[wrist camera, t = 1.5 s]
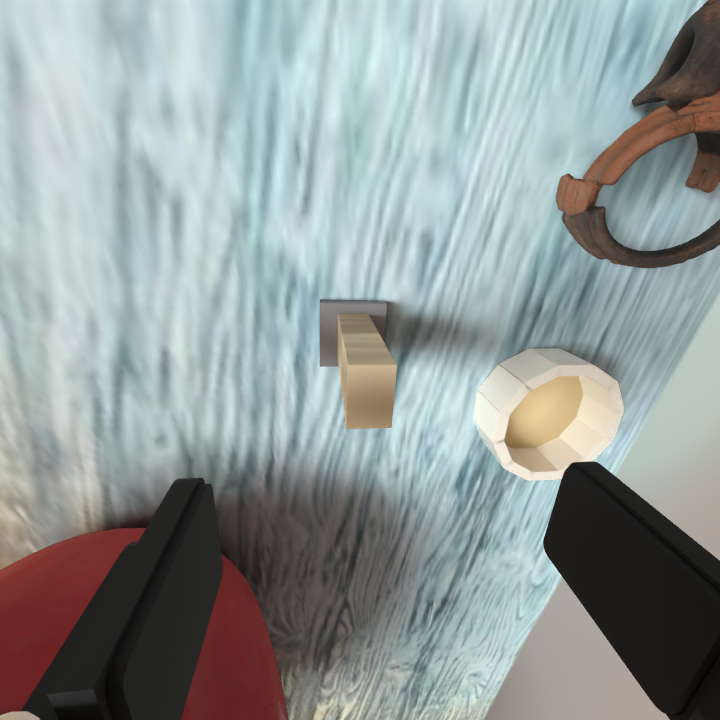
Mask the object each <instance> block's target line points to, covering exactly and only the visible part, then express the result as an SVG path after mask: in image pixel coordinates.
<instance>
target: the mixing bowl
mask: <svg viewBox="0 0 720 720" xmlns="http://www.w3.org/2000/svg"><path fill="white" fill-rule="evenodd" d="M145 529H146V528H118V529H111V530H105V531H98V532H93V533H88V534H84V535H80V536H77V537H74V538H71V539H68V540H65V541H62V542H59V543H56V544H53V545H51V546H48V547H46V548H44V549H42V550H39V551H37V552H35V553H33V554H31V555H29V556H27V557H25V558H23V559H21V560H19V561H17V562H15V563H13V564H11V565H9V566H7V567H5V568H3V569H1V570H0V715H3V714H6V713H9V712H20V711H21V710H22V708H23V706H24V705H25V703H26V702H27V700H28V699H29V697H30V695H31V694H32V692H33V691H34V689H35V688H36V686H37V684H38V683H39V681H40V680H41V678H42V676H43V675H44V673H45V672H46V670H47V669H48V667H49V665H50V664H51V662H52V661H53V659H54V657H55V656H56V654H57V653H58V651H59V650H60V648H61V646H62V645H63V643H64V642H65V640H66V638H67V637H68V635H69V634H70V632H71V631H72V629H73V627H74V626H75V624H76V623H77V621H78V620H79V618H80V616H81V615H82V613H83V612H84V610H85V608H86V607H87V605H88V604H89V602H90V601H91V599H92V597H93V596H94V594H95V593H96V591H97V589H98V588H99V586H100V585H101V583H102V582H103V580H104V578H105V577H106V575H107V574H108V572H109V570H110V569H111V567H112V566H113V564H114V563H115V561H116V559H117V558H118V556H119V555H120V553H121V552H122V551H123V549H124V548H125V547H126V546H127V545H128V544H129V543H131V542H138V541H139V539H140V538H141V536H142V534H143V533H144V531H145ZM222 561H223V573H222V579H221V583H220V586H219V590H218V593H217V597H216V600H215V604H214V607H213V611H212V614H211V618H210V621H209V625H208V628H207V632H206V635H205V639H204V642H203V645H202V649H201V652H200V656H199V659H198V663H197V666H196V670H195V673H194V677H193V680H192V684H191V687H190V691H189V694H188V698H187V701H186V705H185V708H184V711H183V715H182V718H181V720H288V716H287V710H286V705H285V699H284V694H283V688H282V683H281V679H280V674H279V670H278V665H277V661H276V657H275V653H274V650H273V646H272V643H271V639H270V636H269V633H268V629H267V626H266V623H265V620H264V618H263V615H262V612H261V609H260V607H259V604H258V602H257V599H256V597H255V595H254V593H253V591H252V589H251V587H250V585H249V583H248V581H247V580H246V579H245V577H244V576H243V574H242V573H241V572H240V571H239V570H238V569H237V568H236V566H235V565H234V564H233V563H232V562H231V561H230V560H229V559H227V558H226V557H225V556H224V555H222Z"/></svg>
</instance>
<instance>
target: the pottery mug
mask: <svg viewBox="0 0 720 720" xmlns="http://www.w3.org/2000/svg"><path fill="white" fill-rule="evenodd" d="M663 100H668V101H671V102H670V103H668V104H666V105H663V106H661V107H659V108H657V109H656V110H654V111H653V112H652V113H650V114H649V115H647V116H646V117H645V118H643V119H642V120H641V121H639V122H638V123H637V124H635V125H633V126H632V127H631V128H629V129H628V130H626V131H625V132H624V133H623V134H622V135H621V136H620V137H619V138H618V139H617V140H616V141H615V142H614V143H613V144H612V145H611V146H610V147H608V148H607V149H606V150H605V151H604V152H603V153H602V154H601V155H600V156H599V157H598V158H597V159H596V160H595V161H594V163H593V164H592V165H591V167H590V168H589V169H588V171H587V172H586V174H585V175H584V177H583V179H574V178H573V177H572V176H571V175H570V174H566V175H564V176H562V177H561V179H560V182H559V185H558V190H557V195H556V202H557V204H558V209H559V210H562V211H564V214H563V216H562V220H563V223H564V224H565V226H566V227H567V229H568V231H569V232H570V233H571V235H572V236H573V237H574V239H575V240H576V241H577V242H578V244H579V245H581V247H583V248H584V249H585V250H586V251H587V252H589V253H590V254H592V255H593V256H595V257H597V258H599V259H609V260H610V261H611V262H612V263H614V264H621V265H627V266H633V267H641V268H656V267H666V266H671V265H674V264H679V263H683V262H685V261H687V260H688V259H693V258H695V257H697V256H699V255H702V254H704V253H705V252H707V251H710V250H712V249H714V248H716V247H717V246H718V245H720V220H718V221H717V222H716V223H715V224H714V225H713V226H711V227H710V228H709V229H708V230H706V231H705V232H703V233H702V234H701V235H699V236H697V237H696V238H694V239H692V240H690V241H688V242H686V243H683V244H681V245H678V246H675V247H672V248H668V249H663V250H657V251H638V250H633V249H629V248H627V247H624V246H623V245H621V244H620V243H618V242H617V241H616V240H615V239H614V238H613V237H612V236H611V234H610V233H609V230H608V228H607V225H606V219H605V207H597V206H595V203H596V200H597V197H598V193H599V191H600V189H601V188H602V186H603V185H614V184H615V183H616V182H617V181H618V180H619V178H620V177H621V176H622V175H623V174H624V173H625V172H626V170H627V169H628V168H629V167H630V166H631V165H632V164H633V163H634V162H635V161H636V160H637V159H639V158H640V157H641V156H643V155H644V154H646V153H647V152H648V151H650V150H652V149H653V148H655V147H657V146H658V145H660V144H662V143H664V142H667V141H669V140H671V139H674V138H677V137H680V136H683V135H686V134H689V133H695V135H696V138H697V142H698V151H697V156H696V160H695V163H694V166H693V169H692V172H691V174H690V176H689V178H688V180H687V182H686V186H688V187H693V188H698V189H701V190H702V191H704V192H707V193H709V192H712V191H713V190H714V189H715V188H716V186H717V185H718V183H719V181H720V0H708V1H707V2H706V3H705V4H704V5H703V6H702V7H701V8H700V9H699V10H698V11H697V12H695V13H694V14H693V15H692V16H691V17H690V18H689V19H688V21H687V22H686V23H685V25H684V26H683V27H682V29H681V30H680V32H679V34H678V35H677V37H676V38H675V40H674V42H673V44H672V46H671V48H670V49H669V51H668V53H667V55H666V57H665V59H664V61H663V63H662V65H661V67H660V69H659V71H658V73H657V74H656V76H655V77H654V78H653V79H652V81H651V82H650V83H649V84H648V85H647V86H646V87H645V88H644V89H643V90H642V91H641V92H639V93H638V94H637V95H636V96H635V98H634V99H633V100H632V104H633V105H634V106H638V105H641V104H645V103H653V102H659V101H663Z"/></svg>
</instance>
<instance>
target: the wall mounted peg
mask: <svg viewBox="0 0 720 720" xmlns="http://www.w3.org/2000/svg"><path fill="white" fill-rule="evenodd" d="M386 312H387V304H386V303H385V302H384V301H366V300H320V366H339V373H340V381H341V389H342V397H343V405H344V413H345V421H346V429H362V428H391V427H392V415H393V404H394V392H395V380H396V369H397V364H396V363H395V361H394V359H393V357H392V355H391V354H390V352H389V350H388V348H387V347H386V345H385V343H384V341H385V327H386Z"/></svg>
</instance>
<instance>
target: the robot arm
mask: <svg viewBox="0 0 720 720" xmlns="http://www.w3.org/2000/svg"><path fill="white" fill-rule="evenodd" d="M543 544H544V549H545V552H546V554H547V556H548V557H549V559H550V560H551V561H552V563H553V564H554V566H555V567H556V568H557V570H558V571H559V573H560V574H561V575H562V577H563V578H564V579H565V581H566V582H567V584H568V585H569V587H570V588H571V589H572V591H573V592H574V594H575V595H576V596H577V598H578V599H579V600H580V602H581V603H582V605H583V606H584V608H585V609H586V610H587V612H588V613H589V614H590V616H591V617H592V619H593V620H594V621H595V623H596V624H597V626H598V627H599V628H600V630H601V631H602V632H603V634H604V635H605V637H606V638H607V640H608V641H609V642H610V644H611V645H612V647H613V648H614V649H615V651H616V652H617V653H618V655H619V656H620V658H621V659H622V661H623V662H624V663H625V665H626V666H627V668H628V669H629V670H630V672H631V673H632V675H633V676H634V677H635V679H636V680H637V681H638V683H639V684H640V686H641V687H642V688H643V690H644V691H645V693H646V694H647V696H648V697H649V698H650V700H651V701H652V702H653V703H654V705H655V706H656V707H657V708H658V709H659V710H660V711H662V712H663V713H666V715H667V716H668V718H669V719H670V720H720V561H719V560H718V559H717V558H715V557H714V556H713V555H712V554H711V553H709V552H708V551H707V550H706V549H704V548H703V547H702V546H701V545H699V544H698V543H697V542H696V541H694V540H693V539H692V538H691V537H689V536H688V535H687V534H686V533H685V532H683V531H682V530H681V529H680V528H678V527H677V526H676V525H674V524H673V523H672V522H671V521H670V520H668V519H667V518H666V517H665V516H663V515H662V514H661V513H660V512H659V511H657V510H656V509H655V508H654V507H652V506H651V505H650V504H649V503H648V502H646V501H645V500H644V499H643V498H641V497H640V496H639V495H637V494H636V493H635V492H634V491H633V490H631V489H630V488H629V487H628V486H626V485H625V484H624V483H623V482H621V481H620V480H619V479H618V478H617V477H615V476H614V475H613V474H612V473H610V472H609V471H608V470H607V469H605V468H604V467H603V466H602V465H600V464H599V463H597V462H594V461H589V462H573V463H571V464H570V465H569V467H568V468H567V469H566V470H565V471H564V474H563V477H562V480H561V484H560V487H559V490H558V494H557V497H556V500H555V504H554V507H553V510H552V514H551V517H550V520H549V524H548V527H547V530H546V534H545V537H544V541H543ZM222 573H223V561H222V553H221V546H220V539H219V532H218V525H217V517H216V510H215V503H214V496H213V489H212V485H211V484H205V482H204V480H203V478H187V479H177V480H175V481H174V483H173V484H172V486H171V487H170V489H169V491H168V492H167V494H166V496H165V498H164V499H163V501H162V503H161V504H160V506H159V508H158V509H157V511H156V513H155V514H154V516H153V518H152V519H151V521H150V523H149V524H148V526H147V528H146V529H145V531H144V533H143V534H142V536H141V538H140V539H139V541H138V542H131V543H129V544H128V545H127V546H126V547H125V548H124V549H123V551H122V552H121V553H120V555H119V556H118V558H117V559H116V561H115V563H114V564H113V566H112V567H111V569H110V570H109V572H108V574H107V575H106V577H105V578H104V580H103V582H102V583H101V585H100V586H99V588H98V589H97V591H96V593H95V594H94V596H93V597H92V599H91V601H90V602H89V604H88V605H87V607H86V608H85V610H84V612H83V613H82V615H81V616H80V618H79V620H78V621H77V623H76V624H75V626H74V627H73V629H72V631H71V632H70V634H69V635H68V637H67V638H66V640H65V642H64V643H63V645H62V646H61V648H60V650H59V651H58V653H57V654H56V656H55V657H54V659H53V661H52V662H51V664H50V665H49V667H48V669H47V670H46V672H45V673H44V675H43V676H42V678H41V680H40V681H39V683H38V684H37V686H36V688H35V689H34V691H33V692H32V694H31V695H30V697H29V699H28V700H27V702H26V703H25V705H24V706H23V708H22V710H21V711H20V712H9V713H6V714H3V715H0V720H181V718H182V715H183V711H184V708H185V705H186V701H187V698H188V694H189V691H190V687H191V684H192V680H193V677H194V673H195V670H196V666H197V663H198V659H199V656H200V652H201V649H202V645H203V642H204V639H205V635H206V632H207V628H208V625H209V621H210V618H211V614H212V611H213V607H214V604H215V600H216V597H217V593H218V590H219V586H220V583H221V579H222Z"/></svg>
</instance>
